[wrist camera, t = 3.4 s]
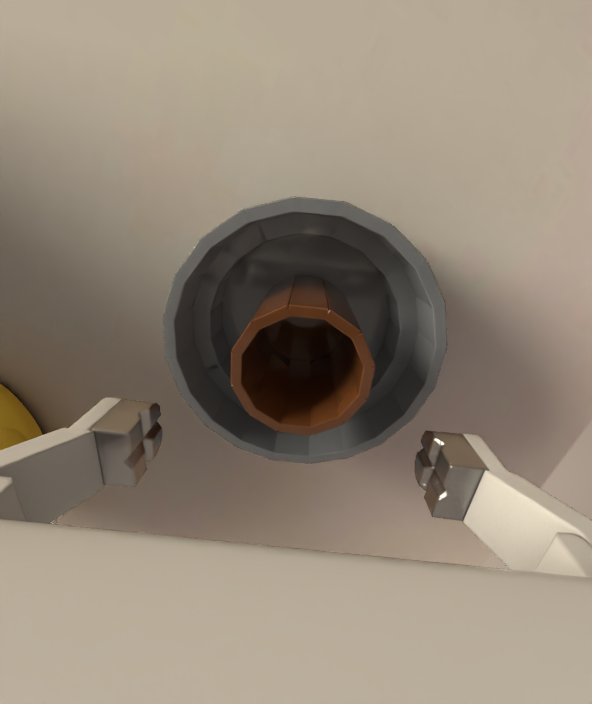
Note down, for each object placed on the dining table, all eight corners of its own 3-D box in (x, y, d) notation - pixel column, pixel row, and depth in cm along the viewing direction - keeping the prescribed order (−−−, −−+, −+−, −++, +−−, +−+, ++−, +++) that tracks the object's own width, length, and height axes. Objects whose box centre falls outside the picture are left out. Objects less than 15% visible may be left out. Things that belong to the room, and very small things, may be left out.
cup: (358, 279, 20) (386, 314, 12) (343, 367, 22) (359, 440, 15) (260, 270, 20) (231, 298, 12) (256, 358, 22) (229, 427, 15)
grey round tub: (435, 217, 19) (488, 215, 13) (386, 416, 24) (409, 474, 19) (198, 194, 19) (151, 182, 13) (204, 397, 24) (172, 450, 19)
